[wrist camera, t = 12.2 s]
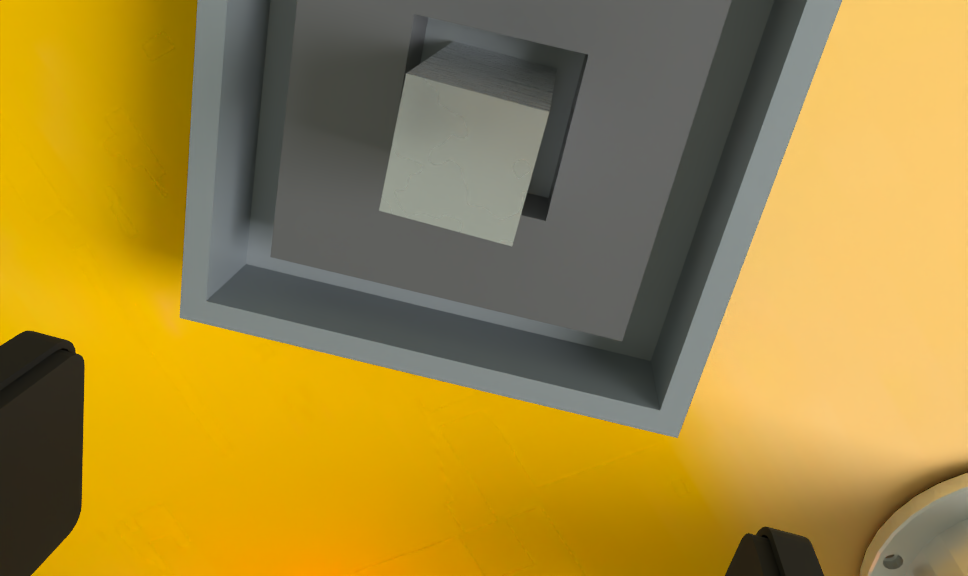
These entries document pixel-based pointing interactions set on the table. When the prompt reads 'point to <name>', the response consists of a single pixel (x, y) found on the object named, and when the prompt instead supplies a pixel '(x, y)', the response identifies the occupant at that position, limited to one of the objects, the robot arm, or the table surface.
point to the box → (548, 204)
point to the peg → (468, 141)
